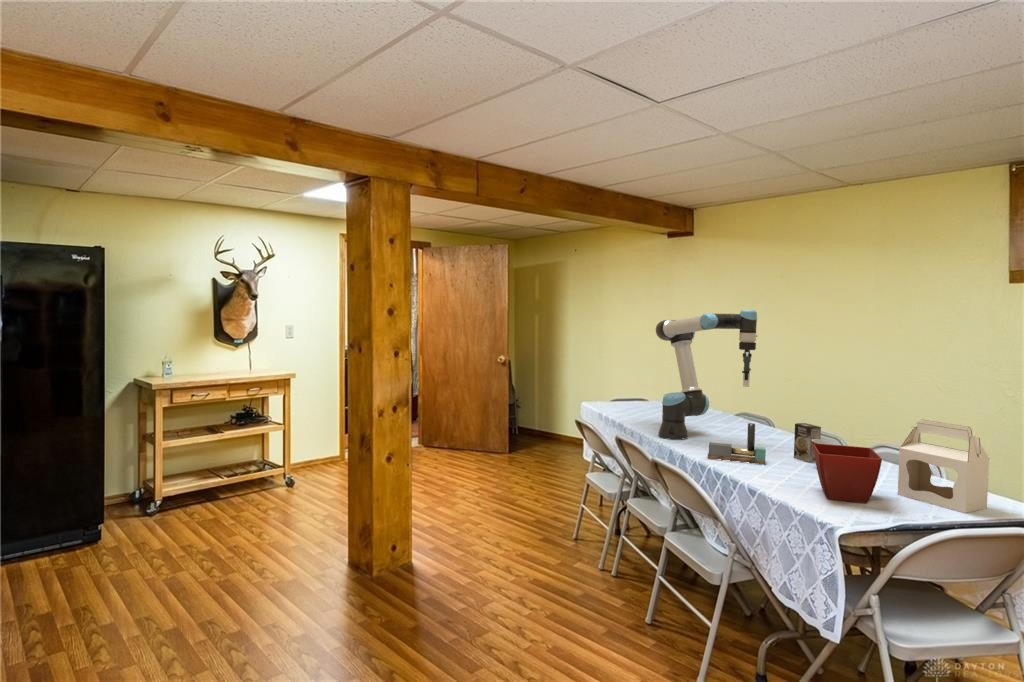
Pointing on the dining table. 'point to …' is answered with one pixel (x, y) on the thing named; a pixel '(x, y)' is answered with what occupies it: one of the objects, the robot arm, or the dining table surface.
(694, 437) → the dining table surface
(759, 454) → the teal socket block
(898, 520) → the dining table surface
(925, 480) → the gable box
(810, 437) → the coffee box
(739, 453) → the slip tube
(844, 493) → the plant pot
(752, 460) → the walnut board
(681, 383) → the robot arm
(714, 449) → the grey rectangular block
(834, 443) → the plastic cup
